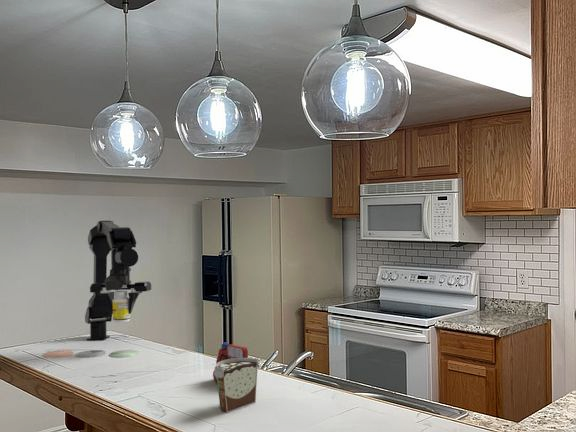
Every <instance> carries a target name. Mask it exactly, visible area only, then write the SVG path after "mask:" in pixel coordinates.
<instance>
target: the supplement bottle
mask: <svg viewBox="0 0 576 432" xmlns="http://www.w3.org/2000/svg"><path fill="white" fill-rule="evenodd" d="M127 296H128V290H114V299H113V314H112V321H113V322H114V323H127V322H129V321H131V314H129V296H128V297H127Z"/></svg>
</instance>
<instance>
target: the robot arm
mask: <svg viewBox="0 0 576 432" xmlns="http://www.w3.org/2000/svg"><path fill="white" fill-rule="evenodd" d="M87 244H88V246H89V250H90V251H91V253H92V255H93V282H92V283H91V284H90V286H89V293H90V294H91V293H92V296H91V297H90V299H89V300H88V306H87V307H86V311H85V313H84V323H85V324H87V325H88V324H89V327H90V328H89V329H90V330H89V333H90V336H89V337H87V338H86V340H87V341H102V340H103V341H104V340H107V339H108V338H110V337H111V335H107V322H108V323H109V322H112V321H113V299H114V298H115V291H129V290H130V292H127V296H128V298H129V314H130V315H131V314H132V312H133V310H134V306H135V304H136V301H137V299H138V297H139V295H140V294H142V293H143V292H149V291H151V290H152V283H151V281H138V282H134V283H132V281H131V280H130V278H131V277H130V276H131V273H130V272H131V271H132V270H131V269H132V268H131V267H133V266H135V265H136V264H137V263H138V262H139V261H138V260H139V255H138V252H137V250H136V249H134V248H136V247H137V241H136V238H135V235H134V233H133V231H132V229H131V228H130V226H129V227H128V226H121V227H120V226H119V225H117V224H115V223H114V221H112V220H98V221H97V223H96V225H95V226H94V227H92V228H91V229H89V233H88V235H87ZM109 254H111V255H110V258H111V259H110V262H111V269H110V270H109V275H107V269H108V268H107V267H108V266H107V265H108V260H107V259H108V255H109Z"/></svg>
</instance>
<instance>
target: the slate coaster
mask: <svg viewBox="0 0 576 432" xmlns="http://www.w3.org/2000/svg"><path fill="white" fill-rule="evenodd" d="M106 354H107V351H106V350H100V349H94V350H93V349H92V350H91V349H90V350H84V351H81V352H77V353H76V357H78V358H86V359H87V358H88V359H89V358H97V357H103V356H105V355H106Z"/></svg>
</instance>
